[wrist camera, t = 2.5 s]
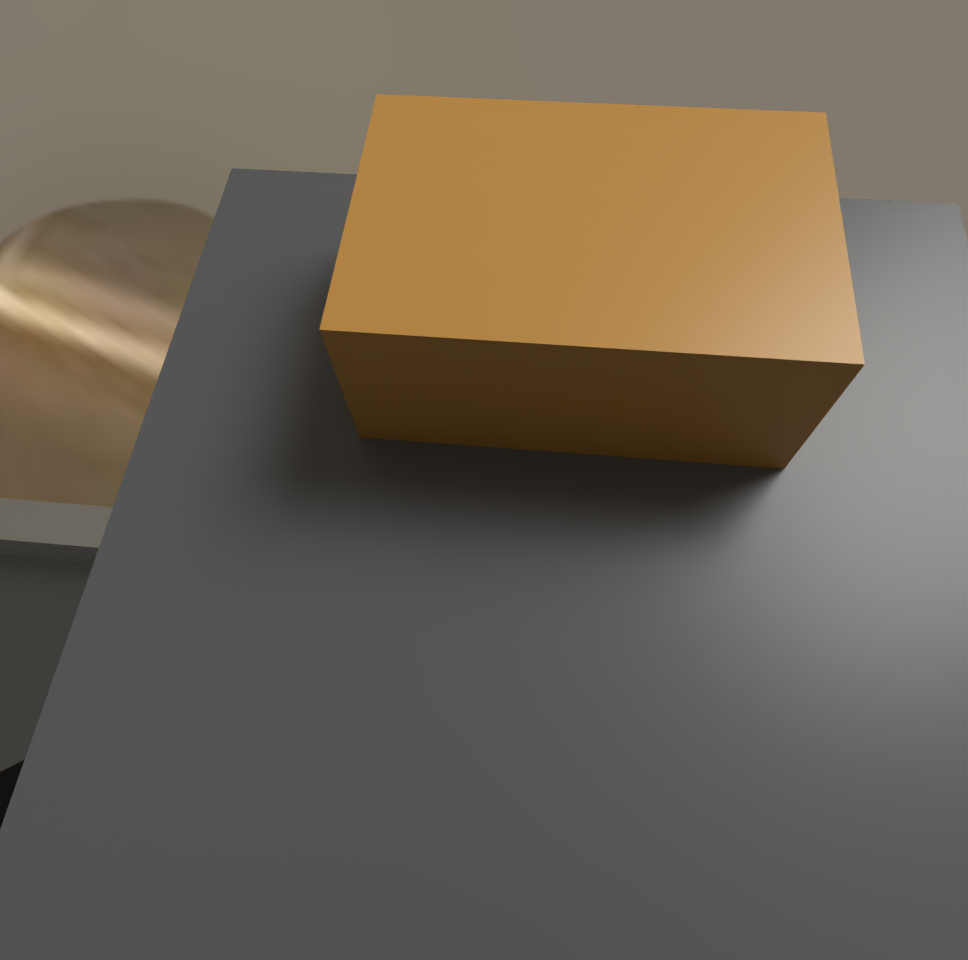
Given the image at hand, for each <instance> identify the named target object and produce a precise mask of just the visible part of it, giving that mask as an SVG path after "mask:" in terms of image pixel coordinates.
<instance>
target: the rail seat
mask: <svg viewBox="0 0 968 960" xmlns="http://www.w3.org/2000/svg"><path fill="white" fill-rule="evenodd" d="M112 509H113V507H102V506H90V505H77V504H65V503H53V502H41V501H29V500H17V499H5V498H0V772H1V771H3V770H5V769H7V768H8V767H10V766H12V765H14V764H16V763H18V762H20V761H22V760H24V759H25V757H26V754H27V752H28V749H29V746H30V743H31V740H32V737H33V734H34V732H35V729H36V726H37V723H38V720H39V717H40V714H41V712H42V709H43V706H44V703H45V700H46V697H47V694H48V692H49V689H50V686H51V683H52V680H53V677H54V674H55V672H56V669H57V666H58V663H59V660H60V657H61V655H62V652H63V649H64V646H65V643H66V640H67V637H68V635H69V632H70V629H71V626H72V623H73V620H74V617H75V615H76V612H77V609H78V606H79V603H80V600H81V597H82V595H83V592H84V589H85V586H86V583H87V580H88V577H89V575H90V572H91V569H92V566H93V563H94V560H95V558H96V555H97V552H98V549H99V546H100V543H101V540H102V538H103V535H104V532H105V529H106V526H107V523H108V520H109V518H110V515H111V512H112Z"/></svg>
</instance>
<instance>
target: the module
mask: <svg viewBox="0 0 968 960" xmlns="http://www.w3.org/2000/svg"><path fill="white" fill-rule="evenodd" d="M0 960H968V242H967V238H966V234H965V230H964V226H963V222H962V218H961V214H960V210H959V206H958V204H951V203H930V202H909V201H889V200H868V199H847V198H846V199H845V198H839V195H838V188H837V182H836V176H835V169H834V163H833V156H832V151H831V143H830V137H829V130H828V124H827V118H826V113H820V112H796V111H770V110H746V109H721V108H698V107H697V108H696V107H673V106H647V105H625V104H623V105H622V104H600V103H574V102H573V103H572V102H551V101H526V100H502V99H500V100H499V99H478V98H453V97H428V96H405V95H379V94H378V95H377V96H376V99H375V104H374V108H373V112H372V116H371V120H370V124H369V128H368V132H367V136H366V140H365V145H364V149H363V153H362V157H361V161H360V165H359V169H358V174H357V175H354V174H334V173H314V172H293V171H273V170H272V171H271V170H252V169H232V170H231V172H230V175H229V178H228V181H227V184H226V187H225V190H224V192H223V196H222V198H221V201H220V204H219V207H218V210H217V212H216V215H215V218H214V221H213V224H212V227H211V229H210V232H209V235H208V238H207V241H206V244H205V247H204V249H203V252H202V255H201V258H200V261H199V264H198V267H197V269H196V272H195V275H194V278H193V281H192V284H191V286H190V289H189V292H188V295H187V298H186V301H185V304H184V306H183V309H182V312H181V315H180V318H179V321H178V324H177V326H176V329H175V332H174V335H173V338H172V341H171V344H170V346H169V349H168V352H167V355H166V358H165V361H164V364H163V366H162V369H161V372H160V375H159V378H158V381H157V383H156V386H155V389H154V392H153V395H152V398H151V401H150V403H149V406H148V409H147V412H146V415H145V418H144V421H143V423H142V426H141V429H140V432H139V435H138V438H137V441H136V443H135V446H134V449H133V452H132V455H131V458H130V461H129V463H128V466H127V469H126V472H125V475H124V478H123V480H122V483H121V486H120V489H119V492H118V495H117V498H116V500H115V503H114V506H113V509H112V512H111V515H110V518H109V520H108V523H107V526H106V529H105V532H104V535H103V538H102V540H101V543H100V546H99V549H98V552H97V555H96V558H95V560H94V563H93V566H92V569H91V572H90V575H89V577H88V580H87V583H86V586H85V589H84V592H83V595H82V597H81V600H80V603H79V606H78V609H77V612H76V615H75V617H74V620H73V623H72V626H71V629H70V632H69V635H68V637H67V640H66V643H65V646H64V649H63V652H62V655H61V657H60V660H59V663H58V666H57V669H56V672H55V674H54V677H53V680H52V683H51V686H50V689H49V692H48V694H47V697H46V700H45V703H44V706H43V709H42V712H41V714H40V717H39V720H38V723H37V726H36V729H35V732H34V734H33V737H32V740H31V743H30V746H29V749H28V752H27V754H26V757H25V760H24V763H23V766H22V769H21V771H20V774H19V777H18V780H17V783H16V786H15V789H14V791H13V794H12V797H11V800H10V803H9V806H8V809H7V811H6V814H5V817H4V820H3V823H2V826H1V829H0Z"/></svg>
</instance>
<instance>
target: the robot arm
mask: <svg viewBox="0 0 968 960" xmlns="http://www.w3.org/2000/svg"><path fill="white" fill-rule="evenodd" d="M24 760H25V759H24ZM24 760H22V761H20V762H18V763H16V764H14V765H12V766H10V767H8V768H7V769H5V770H3V771H1V772H0V829H1V826H2V823H3V820H4V817H5V814H6V811H7V809H8V806H9V803H10V800H11V797H12V794H13V791H14V789H15V786H16V783H17V780H18V777H19V774H20V771H21V769H22V766H23V763H24Z"/></svg>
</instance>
